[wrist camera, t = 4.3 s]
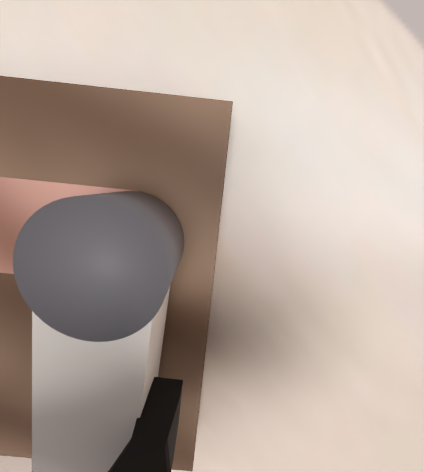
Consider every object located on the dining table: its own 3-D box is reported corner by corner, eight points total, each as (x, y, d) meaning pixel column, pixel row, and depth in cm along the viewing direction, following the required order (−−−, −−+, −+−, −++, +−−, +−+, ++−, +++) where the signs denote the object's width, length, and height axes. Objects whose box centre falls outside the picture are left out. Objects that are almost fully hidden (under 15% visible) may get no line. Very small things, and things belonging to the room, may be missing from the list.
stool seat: (195, 428, 13) (192, 472, 11) (-99, 403, 13) (-156, 444, 11) (228, 117, 10) (233, 100, 8) (-172, 73, 10) (-274, 44, 8)
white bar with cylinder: (87, 182, 8) (10, 183, 5) (190, 199, 8) (177, 210, 5) (73, 464, 11) (18, 575, 8) (151, 474, 11) (127, 587, 8)
